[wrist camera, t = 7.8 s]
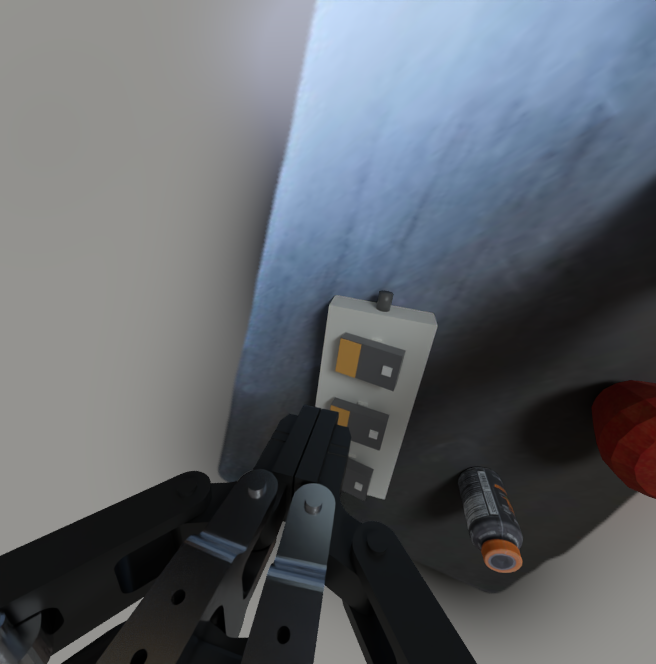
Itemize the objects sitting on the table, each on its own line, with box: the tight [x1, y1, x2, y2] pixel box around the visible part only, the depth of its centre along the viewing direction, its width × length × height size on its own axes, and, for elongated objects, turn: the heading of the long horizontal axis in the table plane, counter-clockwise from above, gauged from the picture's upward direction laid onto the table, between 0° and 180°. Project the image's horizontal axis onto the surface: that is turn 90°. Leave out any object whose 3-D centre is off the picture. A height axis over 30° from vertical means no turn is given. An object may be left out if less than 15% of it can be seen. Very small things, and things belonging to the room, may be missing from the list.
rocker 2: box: [330, 397, 389, 451], centre depth 38 cm, size 7×4×2 cm, turn 83°
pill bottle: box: [458, 467, 523, 573], centre depth 40 cm, size 6×6×11 cm
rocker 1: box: [335, 332, 406, 391], centre depth 34 cm, size 7×4×2 cm, turn 83°
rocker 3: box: [342, 458, 374, 501], centre depth 42 cm, size 7×4×2 cm, turn 83°
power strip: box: [315, 291, 438, 499], centre depth 41 cm, size 12×30×4 cm, turn 173°
